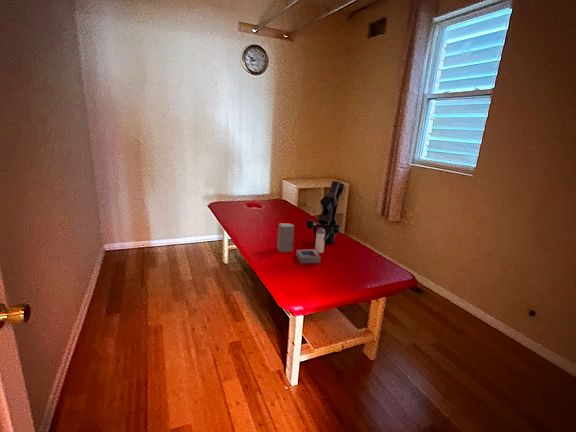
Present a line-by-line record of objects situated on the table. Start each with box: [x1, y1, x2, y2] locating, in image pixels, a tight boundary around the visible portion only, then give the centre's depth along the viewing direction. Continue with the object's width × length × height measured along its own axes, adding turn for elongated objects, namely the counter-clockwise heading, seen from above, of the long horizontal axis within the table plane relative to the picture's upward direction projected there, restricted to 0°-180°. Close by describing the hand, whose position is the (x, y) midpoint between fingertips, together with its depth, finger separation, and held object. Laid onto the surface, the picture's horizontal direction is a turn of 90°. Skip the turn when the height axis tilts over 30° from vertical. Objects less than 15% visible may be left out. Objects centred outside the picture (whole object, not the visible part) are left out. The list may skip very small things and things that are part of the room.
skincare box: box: [276, 222, 295, 253], centre depth 185 cm, size 8×7×16 cm
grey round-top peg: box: [314, 227, 326, 254], centre depth 173 cm, size 5×5×13 cm
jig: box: [295, 248, 322, 264], centre depth 177 cm, size 11×11×3 cm
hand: (319, 240), depth 172 cm, fingers closed on grey round-top peg, 5 cm apart
